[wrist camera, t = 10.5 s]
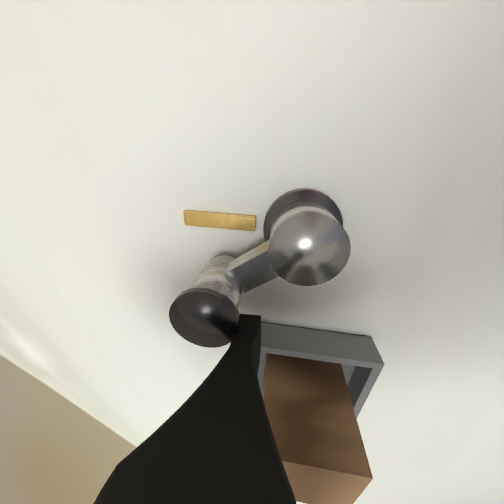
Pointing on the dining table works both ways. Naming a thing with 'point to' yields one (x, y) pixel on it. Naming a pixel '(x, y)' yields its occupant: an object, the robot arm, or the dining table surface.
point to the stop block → (315, 429)
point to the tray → (326, 355)
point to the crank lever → (261, 271)
